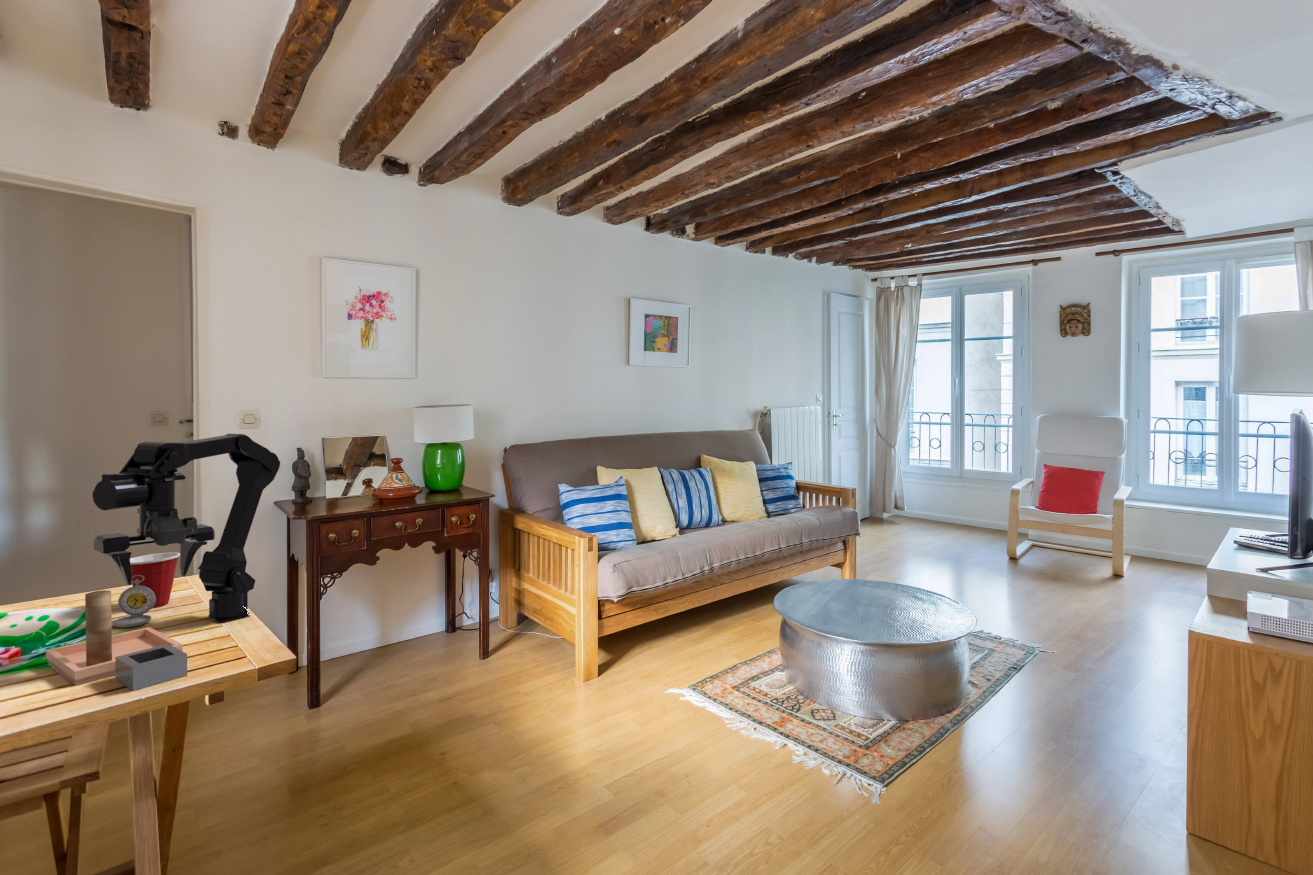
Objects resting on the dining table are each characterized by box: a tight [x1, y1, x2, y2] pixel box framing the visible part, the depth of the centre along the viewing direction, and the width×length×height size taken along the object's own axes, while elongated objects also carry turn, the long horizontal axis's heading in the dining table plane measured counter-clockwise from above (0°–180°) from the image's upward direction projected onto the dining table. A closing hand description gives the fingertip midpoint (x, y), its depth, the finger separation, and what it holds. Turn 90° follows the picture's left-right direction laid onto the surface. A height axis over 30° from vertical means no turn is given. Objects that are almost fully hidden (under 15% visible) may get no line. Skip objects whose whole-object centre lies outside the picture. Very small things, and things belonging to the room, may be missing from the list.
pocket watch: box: [112, 575, 156, 628], centre depth 142 cm, size 8×8×10 cm
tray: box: [45, 626, 184, 687], centre depth 122 cm, size 16×16×2 cm
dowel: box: [84, 589, 113, 666], centre depth 118 cm, size 4×4×13 cm
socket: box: [115, 644, 188, 692], centre depth 115 cm, size 8×8×4 cm
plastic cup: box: [130, 551, 180, 609], centre depth 154 cm, size 11×11×12 cm
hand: (156, 579), depth 130 cm, fingers open, 9 cm apart
